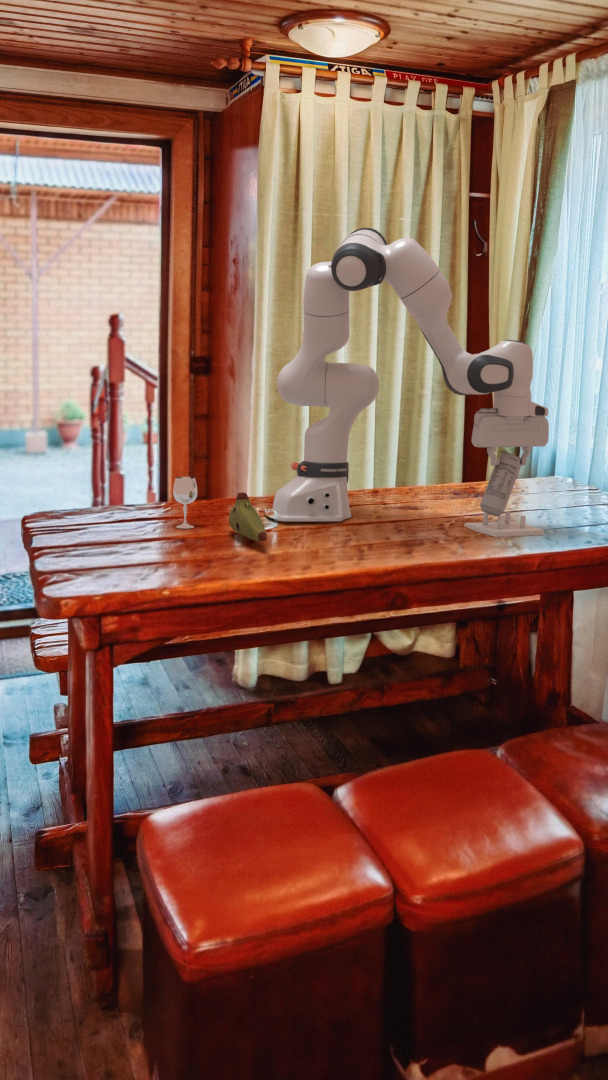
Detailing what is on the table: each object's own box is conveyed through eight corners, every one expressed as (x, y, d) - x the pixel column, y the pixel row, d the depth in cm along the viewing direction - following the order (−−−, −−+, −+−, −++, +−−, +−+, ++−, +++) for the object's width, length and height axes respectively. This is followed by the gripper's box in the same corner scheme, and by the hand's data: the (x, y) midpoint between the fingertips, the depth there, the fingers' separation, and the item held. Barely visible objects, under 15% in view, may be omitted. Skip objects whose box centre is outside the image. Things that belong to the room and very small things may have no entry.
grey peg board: (495, 537, 215) (496, 519, 215) (464, 527, 228) (465, 511, 227) (544, 534, 221) (545, 517, 220) (510, 525, 233) (511, 509, 233)
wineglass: (170, 525, 220) (170, 476, 218) (193, 524, 222) (194, 476, 220) (176, 529, 215) (176, 479, 212) (199, 528, 217) (199, 478, 214)
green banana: (277, 544, 199) (278, 499, 197) (254, 545, 196) (255, 500, 195) (241, 530, 216) (242, 488, 215) (220, 531, 214) (221, 489, 212)
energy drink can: (504, 519, 222) (525, 463, 223) (498, 512, 217) (520, 455, 218) (482, 512, 225) (502, 457, 226) (475, 506, 220) (496, 449, 221)
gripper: (482, 408, 212) (479, 467, 215) (554, 409, 220) (550, 465, 222) (468, 407, 218) (465, 465, 220) (538, 408, 225) (535, 463, 228)
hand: (508, 465), depth 221 cm, fingers closed on energy drink can, 6 cm apart
